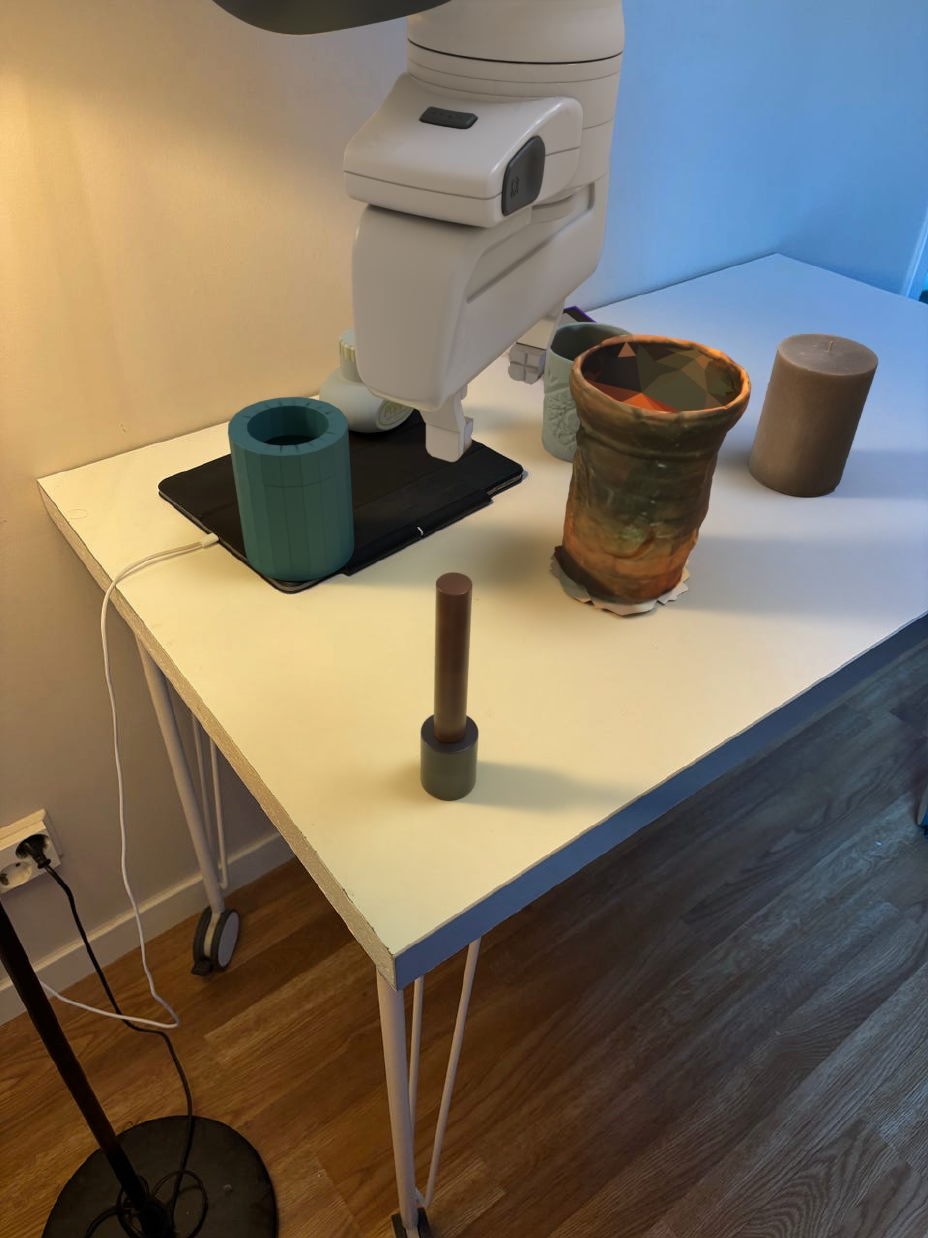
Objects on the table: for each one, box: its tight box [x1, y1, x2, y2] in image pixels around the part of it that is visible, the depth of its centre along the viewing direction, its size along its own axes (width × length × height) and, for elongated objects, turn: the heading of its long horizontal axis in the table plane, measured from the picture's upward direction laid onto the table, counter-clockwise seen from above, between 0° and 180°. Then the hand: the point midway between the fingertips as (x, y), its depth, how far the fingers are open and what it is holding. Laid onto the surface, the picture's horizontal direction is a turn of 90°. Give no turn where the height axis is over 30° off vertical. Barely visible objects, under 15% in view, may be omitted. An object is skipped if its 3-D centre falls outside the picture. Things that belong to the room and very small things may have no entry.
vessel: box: [548, 334, 752, 616], centre depth 82 cm, size 14×14×20 cm
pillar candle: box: [747, 332, 879, 498], centre depth 97 cm, size 10×10×15 cm
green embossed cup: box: [541, 322, 635, 464], centre depth 101 cm, size 10×10×12 cm
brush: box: [419, 572, 480, 801], centre depth 63 cm, size 4×4×18 cm
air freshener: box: [318, 327, 415, 434], centre depth 105 cm, size 11×8×10 cm
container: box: [227, 396, 355, 582], centre depth 85 cm, size 10×10×13 cm
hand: (490, 412), depth 50 cm, fingers open, 8 cm apart
